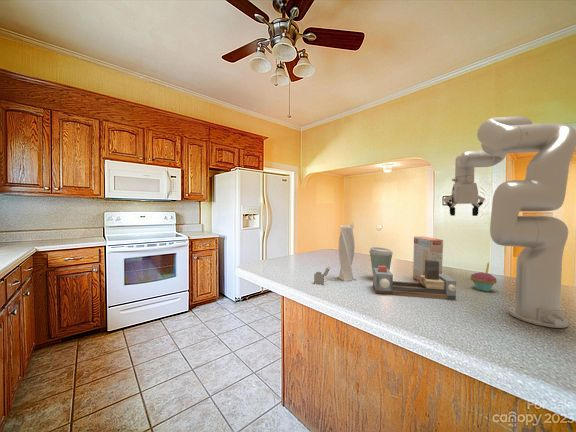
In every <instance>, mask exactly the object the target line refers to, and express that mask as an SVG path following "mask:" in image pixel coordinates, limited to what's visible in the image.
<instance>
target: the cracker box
mask: <svg viewBox="0 0 576 432" xmlns="http://www.w3.org/2000/svg"><path fill="white" fill-rule="evenodd" d="M443 248H444V240H443V239H439V238H434V237H428V236H413V262H412V263H413V266H412V268H413V269H412V279H414V280H416V281H417V282H418V283H420V275H423V276H425V260H436V261H438V262H439V274H443V253H444V252H443V251H444V249H443Z"/></svg>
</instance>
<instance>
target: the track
mask: <svg viewBox="0 0 576 432" xmlns="http://www.w3.org/2000/svg"><path fill="white" fill-rule="evenodd" d="M372 287H373V289H374V292H375V294H376V295H385V296H386V295H388V296H399V297H412V298H413V297H415V298H426V299H427V298H428V299H440V300H452V299H453V297H454V300H453V301H456V300H457V295H456V296H453V297H452V296H451V295H448V299H447V295H446V290H441V289H427V288H426V287H425V286H423V285H422V284H421V283H420V282H410V281H399V280H398V281H396V280H393V291H383V290H376V288H375V286H374V285H373V284H372ZM376 291H377V293H376ZM378 292H379V294H378ZM387 292H388V293H389V294H388V293H387ZM380 293H381V294H380ZM382 293H383V294H382ZM386 293H387V294H386ZM390 293H392V295H390ZM449 296H450V298H449ZM451 297H452V299H451Z"/></svg>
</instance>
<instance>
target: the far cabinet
mask: <svg viewBox="0 0 576 432" xmlns="http://www.w3.org/2000/svg"><path fill="white" fill-rule="evenodd" d="M393 277H394V275H393V273H392V272H391V271H389V270H388V269H387V272H378V268H373V271H372V286H373V285H374V286H375V288H376V290H383V291H393V281H394V279H393ZM376 293H377V291H376V292H375V294H376ZM387 293H388V292H387ZM387 293H386V294H387ZM386 294H385V295H386ZM388 294H389V293H388ZM377 295H384V294H383V293H382V294H381V293H380V294H379V292H378V294H377ZM389 296H393V295H392V293H390V295H389Z"/></svg>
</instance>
